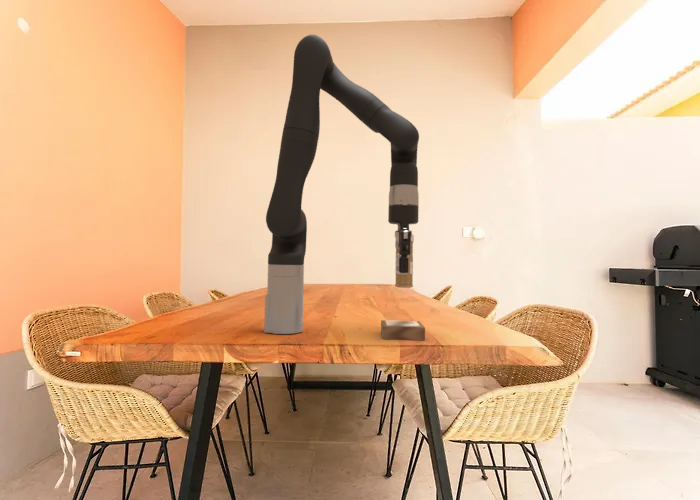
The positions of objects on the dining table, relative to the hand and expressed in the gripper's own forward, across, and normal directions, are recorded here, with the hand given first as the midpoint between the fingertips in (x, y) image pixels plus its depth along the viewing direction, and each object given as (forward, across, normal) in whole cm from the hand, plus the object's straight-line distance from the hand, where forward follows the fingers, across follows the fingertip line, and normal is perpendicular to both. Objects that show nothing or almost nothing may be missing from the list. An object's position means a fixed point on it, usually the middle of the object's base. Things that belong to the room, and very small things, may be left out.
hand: (402, 272), depth 103 cm
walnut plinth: (+16, 0, 0) cm, 16 cm away
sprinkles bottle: (+4, 0, 0) cm, 4 cm away
